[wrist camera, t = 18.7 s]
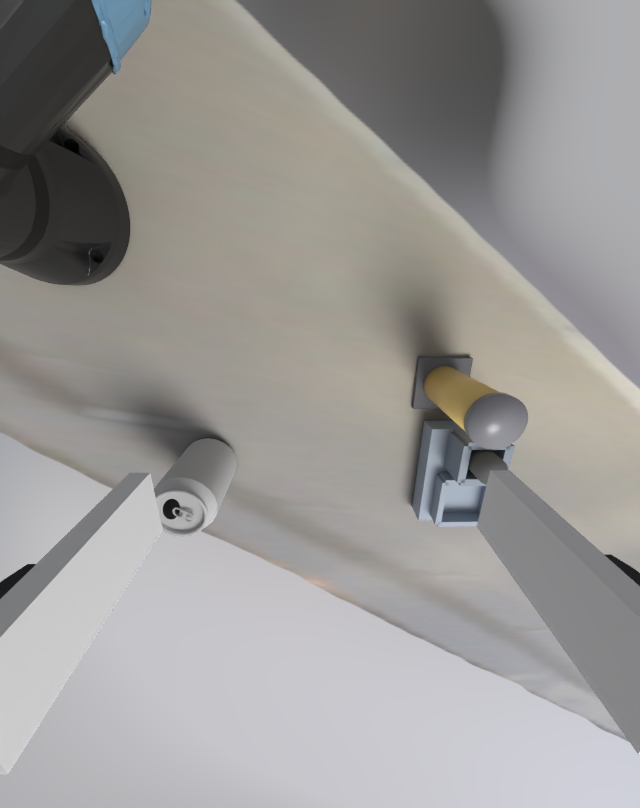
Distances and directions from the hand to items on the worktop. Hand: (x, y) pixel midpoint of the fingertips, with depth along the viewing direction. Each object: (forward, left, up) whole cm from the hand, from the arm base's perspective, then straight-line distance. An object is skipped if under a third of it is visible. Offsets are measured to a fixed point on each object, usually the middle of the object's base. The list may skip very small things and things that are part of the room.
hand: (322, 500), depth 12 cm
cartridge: (+4, +17, -28) cm, 33 cm away
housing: (+16, +21, -29) cm, 39 cm away
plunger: (+12, +21, -25) cm, 35 cm away
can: (+15, -15, -29) cm, 36 cm away
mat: (+4, +17, -29) cm, 34 cm away
